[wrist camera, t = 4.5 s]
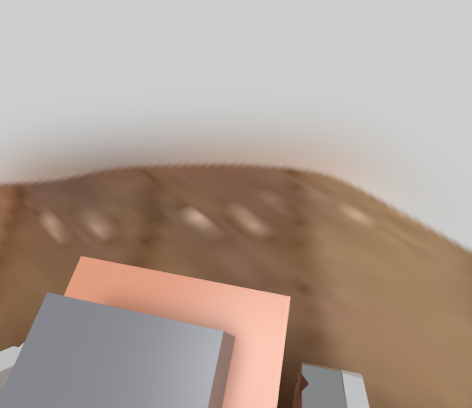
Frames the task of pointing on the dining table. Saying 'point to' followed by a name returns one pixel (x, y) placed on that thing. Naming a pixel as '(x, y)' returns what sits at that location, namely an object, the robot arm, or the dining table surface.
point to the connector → (150, 344)
